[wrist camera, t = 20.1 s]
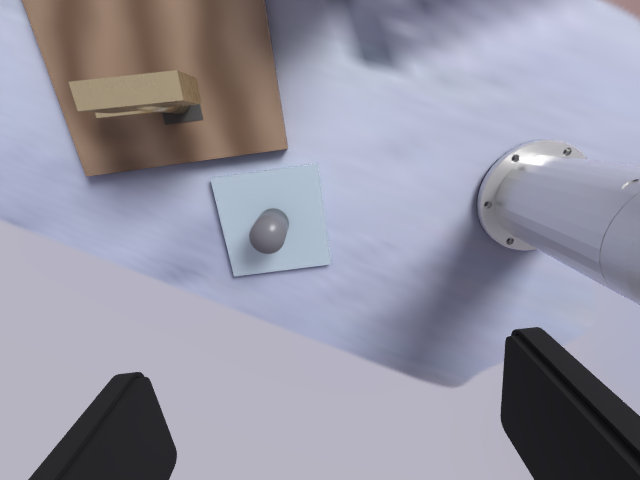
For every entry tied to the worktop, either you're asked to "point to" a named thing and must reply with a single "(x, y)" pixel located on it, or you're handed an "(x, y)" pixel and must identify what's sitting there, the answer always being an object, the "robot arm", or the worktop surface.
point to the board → (159, 56)
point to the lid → (273, 219)
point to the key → (136, 94)
